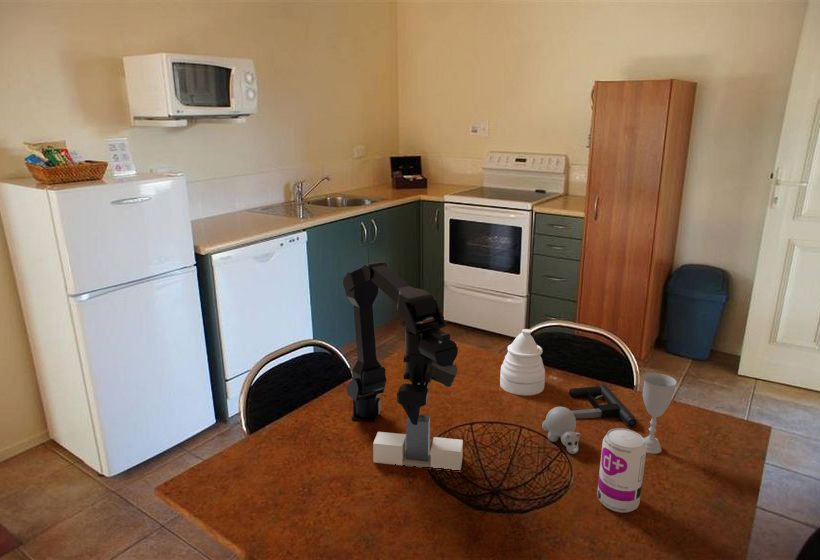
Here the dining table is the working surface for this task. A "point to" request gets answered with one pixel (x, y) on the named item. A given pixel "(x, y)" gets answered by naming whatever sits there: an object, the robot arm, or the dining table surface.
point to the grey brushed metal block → (418, 439)
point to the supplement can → (621, 470)
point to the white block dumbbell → (394, 452)
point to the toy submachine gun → (605, 411)
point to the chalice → (656, 403)
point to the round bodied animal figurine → (562, 428)
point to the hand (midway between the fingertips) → (418, 413)
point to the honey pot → (523, 366)
